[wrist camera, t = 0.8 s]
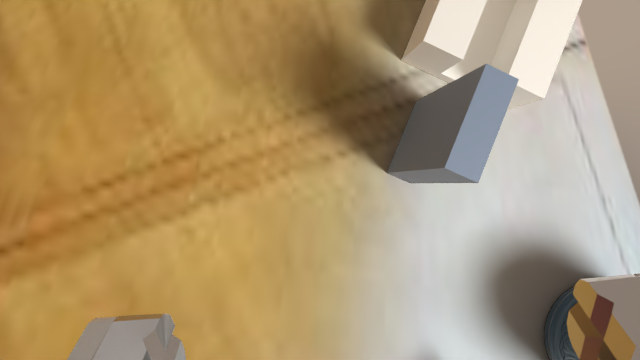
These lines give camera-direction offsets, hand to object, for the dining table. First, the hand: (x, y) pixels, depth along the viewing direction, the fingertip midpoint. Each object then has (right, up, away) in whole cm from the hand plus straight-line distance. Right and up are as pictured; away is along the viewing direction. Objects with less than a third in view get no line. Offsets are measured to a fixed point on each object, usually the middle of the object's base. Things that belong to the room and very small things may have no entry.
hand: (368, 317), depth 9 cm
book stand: (+17, +19, +43) cm, 50 cm away
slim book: (+10, +7, +42) cm, 43 cm away
